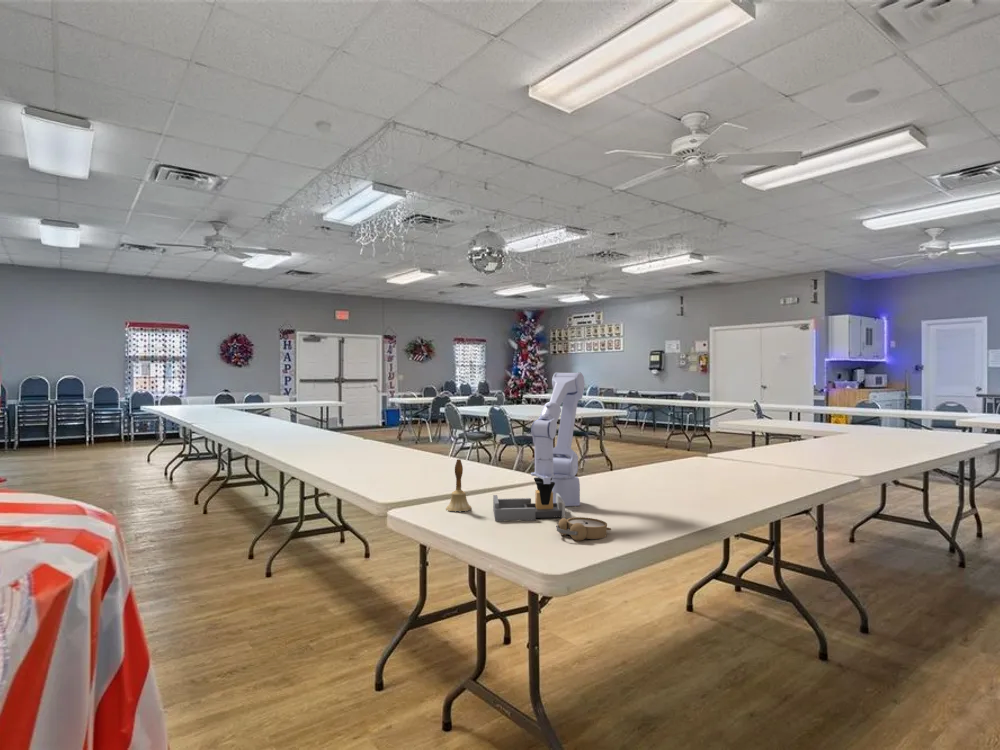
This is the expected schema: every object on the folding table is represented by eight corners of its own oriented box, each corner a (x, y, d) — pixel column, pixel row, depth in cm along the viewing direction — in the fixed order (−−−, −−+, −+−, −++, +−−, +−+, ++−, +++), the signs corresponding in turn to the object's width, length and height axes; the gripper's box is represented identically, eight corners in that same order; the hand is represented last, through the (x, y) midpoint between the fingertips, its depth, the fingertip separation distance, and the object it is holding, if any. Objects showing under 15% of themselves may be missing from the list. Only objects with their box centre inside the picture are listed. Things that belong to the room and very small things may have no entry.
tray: (558, 507, 181) (558, 493, 181) (565, 518, 169) (565, 503, 168) (522, 508, 181) (522, 493, 181) (527, 519, 168) (526, 504, 168)
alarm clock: (616, 525, 153) (574, 524, 145) (614, 543, 153) (572, 543, 145) (589, 516, 162) (548, 514, 154) (586, 533, 162) (545, 532, 154)
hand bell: (447, 505, 186) (447, 457, 186) (472, 505, 186) (472, 457, 185) (444, 512, 178) (443, 462, 177) (470, 512, 178) (470, 461, 177)
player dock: (530, 509, 181) (530, 493, 181) (535, 520, 168) (535, 503, 168) (493, 509, 180) (493, 494, 180) (495, 521, 167) (494, 504, 167)
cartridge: (551, 505, 177) (551, 489, 177) (553, 509, 173) (553, 492, 173) (535, 506, 177) (535, 490, 176) (536, 509, 173) (536, 493, 172)
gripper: (528, 455, 181) (528, 497, 182) (533, 463, 167) (534, 508, 167) (550, 454, 182) (550, 496, 182) (557, 462, 167) (557, 508, 168)
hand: (544, 502), depth 175 cm, fingers open, 4 cm apart
